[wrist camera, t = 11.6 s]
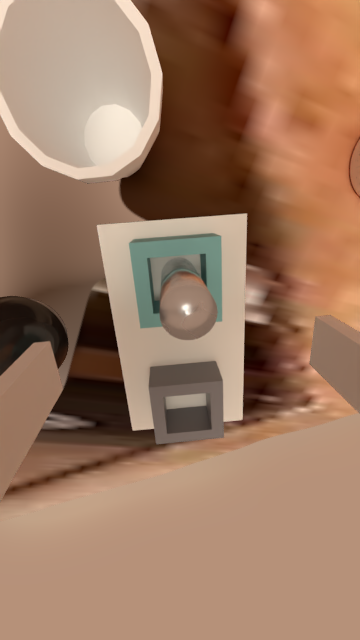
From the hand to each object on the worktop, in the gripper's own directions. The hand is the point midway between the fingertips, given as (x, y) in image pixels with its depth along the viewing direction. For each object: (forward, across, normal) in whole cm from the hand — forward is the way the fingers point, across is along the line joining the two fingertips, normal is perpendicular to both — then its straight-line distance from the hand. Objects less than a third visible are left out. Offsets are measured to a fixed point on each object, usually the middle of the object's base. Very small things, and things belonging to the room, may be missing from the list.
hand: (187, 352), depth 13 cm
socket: (+18, +1, 0) cm, 18 cm away
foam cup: (+20, -4, +14) cm, 25 cm away
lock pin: (+18, +1, 0) cm, 18 cm away
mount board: (+20, +1, -8) cm, 21 cm away
